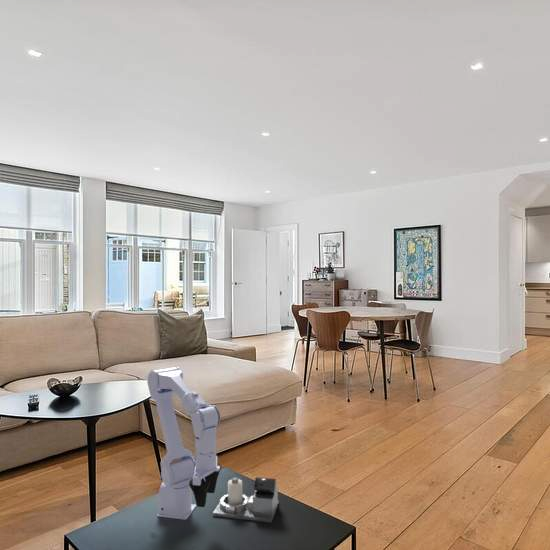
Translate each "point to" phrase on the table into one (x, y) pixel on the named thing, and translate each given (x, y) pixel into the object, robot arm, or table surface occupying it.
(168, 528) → the table surface
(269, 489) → the grey machine
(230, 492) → the white bottle
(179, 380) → the robot arm
